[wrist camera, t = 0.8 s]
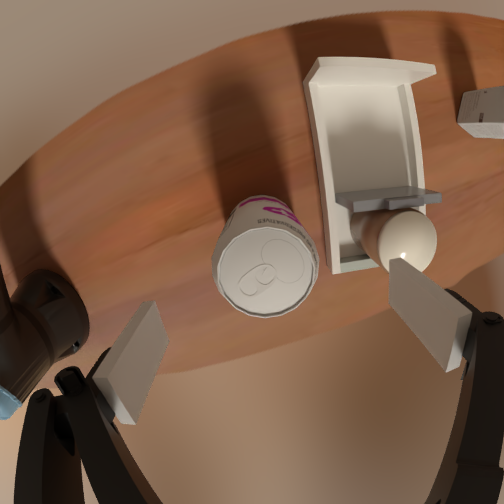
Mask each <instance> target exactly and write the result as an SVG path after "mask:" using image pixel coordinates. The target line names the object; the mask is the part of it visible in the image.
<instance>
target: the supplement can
mask: <svg viewBox="0 0 504 504" xmlns="http://www.w3.org/2000/svg"><path fill="white" fill-rule="evenodd" d="M318 267H319V257H318V253H317V250H316V246H315V243H314V241H313V240H312V238H311V237H310V235H309V234H308V233H307V231H306V230H305V229H304V227H303V226H302V224H301V223H300V222H299V220H298V219H297V218H296V216H295V215H294V214H293V212H292V211H291V210H290V208H289V207H288V206H287V205H286V203H284V202H282V201H281V200H279V199H277V198H276V197H272V196H267V195H257V196H251V197H249V198H247V199H245V200H243V201H241V202H240V203H239V204H238V205H237V206H236V207H235V208H234V210H233V211H232V212H231V214H230V216H229V218H228V220H227V222H226V224H225V226H224V229H223V231H222V233H221V235H220V237H219V239H218V241H217V244H216V247H215V250H214V253H213V256H212V276H213V278H214V281H215V283H216V285H217V288H218V290H219V292H220V293H221V294H222V295H223V296H224V297H225V298H226V299H227V300H228V302H229V303H230V304H231V305H232V306H233V307H234V308H235V309H237V310H239V311H241V312H243V313H245V314H247V315H249V316H255V317H261V318H269V317H276V316H281V315H284V314H286V313H288V312H290V311H292V310H294V309H296V308H297V307H298V306H299V305H300V304H301V303H302V302H303V301H304V300H305V299H306V298H307V296H308V294H309V293H310V292H311V289H312V287H313V285H314V283H315V281H316V279H317V277H318Z"/></svg>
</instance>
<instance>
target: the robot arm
mask: <svg viewBox="0 0 504 504" xmlns="http://www.w3.org/2000/svg"><path fill="white" fill-rule="evenodd" d="M389 304H390V305H391V307H392V308H393V309H394V310H395V311H396V312H397V313H398V315H399V316H400V317H401V318H402V319H403V320H404V321H405V323H406V324H407V325H408V326H409V328H410V329H411V330H412V331H413V332H414V333H415V335H416V336H417V337H418V338H419V339H420V341H421V342H422V343H423V344H424V346H425V347H426V348H427V349H428V351H429V352H430V353H431V354H432V355H433V357H434V358H435V359H436V360H437V362H438V363H439V364H440V366H441V367H442V368H443V369H444V371H445V372H448V371H450V370H453V369H455V368H457V367H459V365H460V362H461V358H462V356H463V357H464V358H465V359H466V360H467V362H466V365H465V368H464V371H463V374H462V378H461V380H463V382H462V388H461V393H460V398H459V403H458V407H457V412H456V416H455V420H454V424H453V428H452V431H451V435H450V438H449V442H448V445H447V448H446V452H445V454H444V457H443V461H442V463H441V466H440V469H439V471H438V474H437V477H436V479H435V482H434V484H433V487H432V489H431V491H430V494H429V496H428V498H427V500H426V502H425V504H497V500H498V497H499V493H500V489H501V486H502V481H503V476H504V470H503V468H500V467H499V460H500V455H501V449H502V443H503V436H504V319H503V317H502V316H501V315H499V314H497V313H495V312H483V313H482V312H480V311H479V310H478V309H477V308H475V307H474V306H473V305H472V304H470V303H469V302H467V301H466V300H465V299H464V298H462V297H461V296H460V295H459V294H458V293H456V292H454V291H452V290H449V289H443V288H441V287H440V286H439V285H437V284H436V283H435V282H434V281H432V280H431V279H430V278H428V277H427V276H426V275H424V274H423V273H422V272H420V271H419V270H418V269H416V268H415V267H413V266H412V265H411V264H409V263H408V262H407V261H405V260H404V259H402V258H401V257H400V258H395V259H390V260H389ZM88 336H89V319H88V315H87V312H86V309H85V307H84V305H83V303H82V301H81V299H80V297H79V296H78V294H77V293H76V291H75V290H74V289H73V288H72V286H71V285H70V284H69V283H68V282H67V281H66V280H65V279H63V278H62V277H61V276H59V275H58V274H56V273H54V272H52V271H49V270H43V269H41V270H36V271H34V272H32V273H31V274H29V275H27V276H26V277H25V278H24V279H23V280H22V281H21V282H20V284H19V285H18V287H17V289H16V290H15V292H14V293H13V295H12V296H11V298H9V294H8V291H7V288H6V284H5V280H4V277H3V273H2V269H1V265H0V420H6V419H8V418H10V417H11V416H12V415H13V414H14V412H15V411H16V410H17V409H18V408H19V407H21V406H22V404H23V402H24V401H25V400H26V398H27V397H28V396H29V394H30V393H31V392H32V390H33V389H34V388H35V386H36V385H37V384H38V383H39V381H40V380H41V379H42V377H43V376H44V375H45V374H46V372H47V371H48V370H49V368H50V367H51V366H52V365H53V364H54V363H56V362H58V361H60V360H62V359H64V358H66V357H68V356H70V355H73V354H75V353H76V352H77V351H79V350H80V348H81V347H82V346H83V345H84V344H85V342H86V341H87V339H88ZM168 343H169V339H168V336H167V333H166V331H165V328H164V325H163V323H162V320H161V317H160V314H159V311H158V308H157V305H156V303H155V300H154V301H147V302H143V303H142V304H141V305H140V307H139V308H138V310H137V311H136V312H135V314H134V315H133V317H132V318H131V320H130V321H129V323H128V324H127V325H126V327H125V328H124V330H123V331H122V333H121V334H120V336H119V337H118V339H117V340H116V342H115V343H114V345H113V346H112V347H109V348H108V349H107V350H105V351H104V352H103V353H102V354H101V356H100V357H99V359H98V361H96V363H95V364H94V366H93V367H92V369H91V370H90V372H89V373H88V375H87V376H86V378H84V376H83V374H82V372H81V371H80V369H79V368H78V367H76V366H70V367H67V368H65V369H63V370H61V371H60V372H59V373H58V374H57V375H56V376H55V379H54V382H55V383H56V385H57V386H58V388H59V390H60V391H61V393H62V394H63V395H60V396H53V394H52V393H51V391H50V390H49V389H46V388H44V389H40V390H37V391H35V392H34V393H33V394H32V395H31V397H30V399H29V402H28V406H27V411H26V415H25V419H24V425H23V430H22V434H21V440H20V446H19V452H18V460H17V468H16V477H15V488H14V504H85V501H84V492H83V482H82V471H81V460H82V463H83V466H84V468H85V471H86V474H87V476H88V479H89V481H90V484H91V486H92V489H93V491H94V493H95V495H96V498H97V500H98V502H99V504H163V503H162V502H161V500H160V499H159V498H158V496H157V495H156V493H155V492H154V490H153V489H152V487H151V486H150V484H149V483H148V481H147V480H146V478H145V476H144V475H143V473H142V472H141V470H140V469H139V467H138V465H137V463H136V462H135V460H134V458H133V457H132V455H131V453H130V451H129V450H128V448H127V446H126V444H125V442H124V440H123V438H122V437H121V435H120V433H119V431H118V429H117V427H116V425H115V424H114V422H113V419H114V417H115V415H116V416H117V418H118V419H119V421H120V422H121V423H122V424H134V425H136V423H137V421H138V418H139V416H140V413H141V410H142V408H143V405H144V403H145V400H146V397H147V395H148V392H149V390H150V387H151V385H152V382H153V380H154V377H155V375H156V372H157V370H158V367H159V365H160V362H161V360H162V358H163V355H164V353H165V350H166V348H167V346H168Z"/></svg>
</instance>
